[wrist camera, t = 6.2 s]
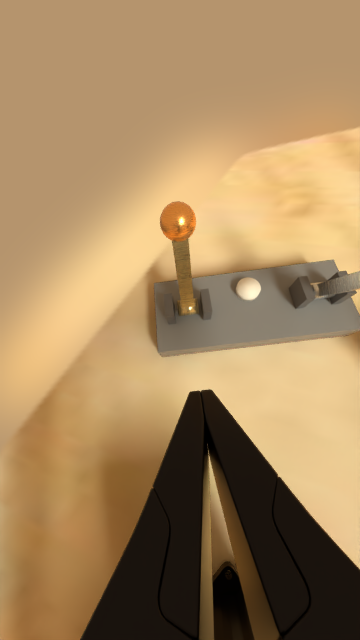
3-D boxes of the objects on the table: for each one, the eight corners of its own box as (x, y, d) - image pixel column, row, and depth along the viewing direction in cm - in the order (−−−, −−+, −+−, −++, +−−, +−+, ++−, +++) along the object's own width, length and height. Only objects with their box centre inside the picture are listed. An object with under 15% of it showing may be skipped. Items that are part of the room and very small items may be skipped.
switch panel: (162, 357, 22) (153, 347, 17) (157, 293, 25) (149, 271, 20) (346, 335, 21) (386, 320, 16) (320, 272, 24) (347, 245, 19)
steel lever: (303, 306, 20) (421, 288, 10) (299, 280, 20) (414, 237, 10) (329, 302, 20) (475, 282, 10) (325, 277, 20) (468, 230, 10)
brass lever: (176, 323, 19) (156, 210, 12) (175, 306, 21) (157, 200, 14) (202, 320, 19) (196, 203, 12) (199, 303, 21) (192, 195, 14)
